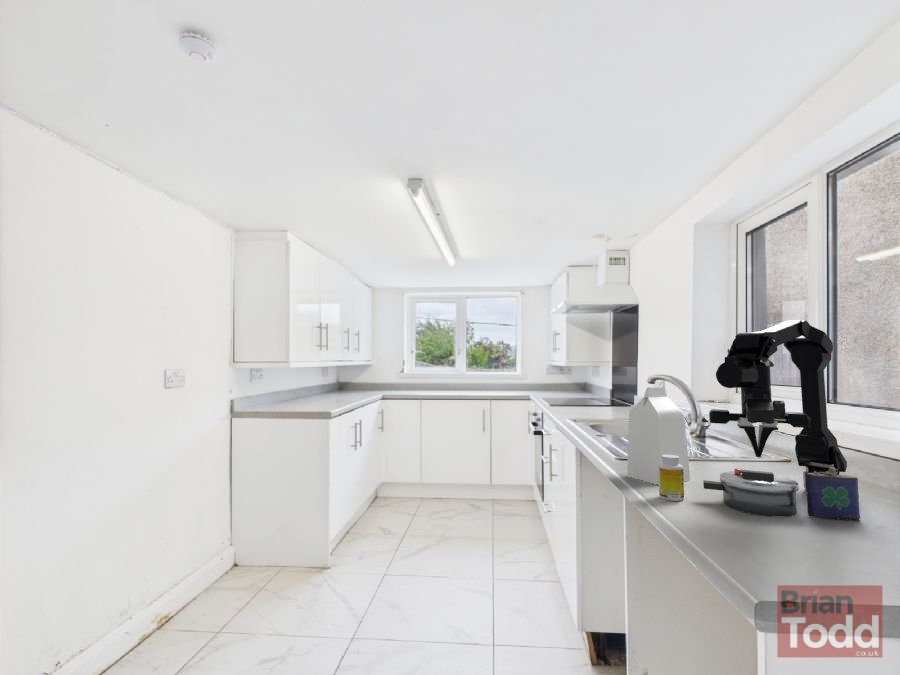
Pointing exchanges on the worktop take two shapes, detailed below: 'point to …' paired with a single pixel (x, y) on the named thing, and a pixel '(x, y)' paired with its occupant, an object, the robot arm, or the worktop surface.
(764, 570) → the worktop surface
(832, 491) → the flask
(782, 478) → the cooker lid
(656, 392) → the milk
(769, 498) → the cooker pot
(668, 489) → the supplement bottle
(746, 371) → the robot arm
